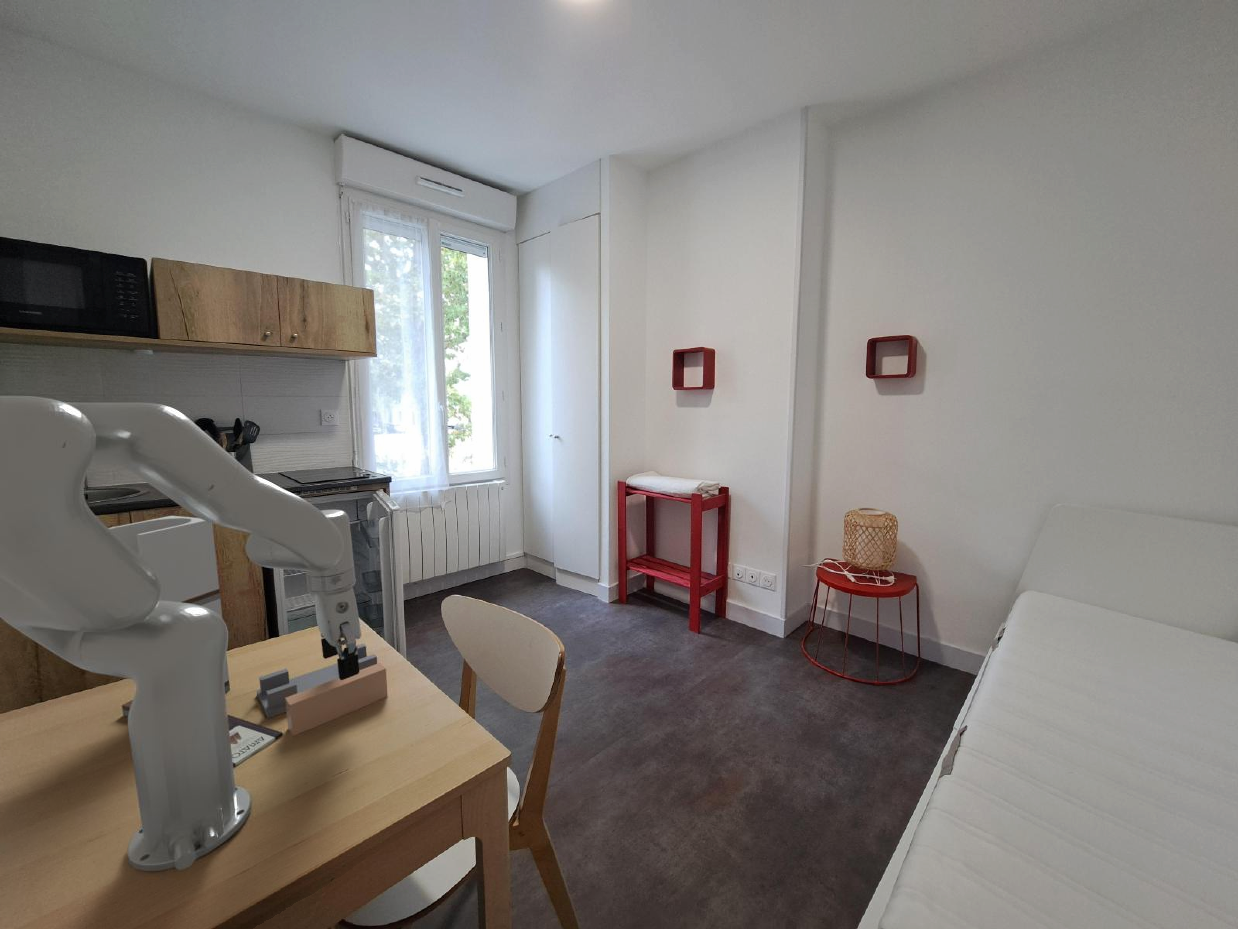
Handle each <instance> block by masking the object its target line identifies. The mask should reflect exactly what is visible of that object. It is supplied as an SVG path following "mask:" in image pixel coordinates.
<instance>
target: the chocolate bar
mask: <svg viewBox="0 0 1238 929" xmlns="http://www.w3.org/2000/svg"><path fill="white" fill-rule="evenodd" d="M227 715H228V724H229V733H230V742H231V752H232V761H233V768H235V767H236V766H238V765H240V764H241V763H243V762H244V761H246V760H247V759H249V758H250V757H252V756H254V755H255V754H256V753H258V752H260V751H261V750H263V749H265V748H266V747H267V746H269V745H270V744H272V743H273V742H275V741H276V740H277V739H279V738H281V737H282V736H284V734H283V732H282V731H279V730H275V729H273V728H269V727H266V726H264V725H261V724H258V723H255V722H251V721H248V720H245V719H243V718H239V717H236V716H233V715H230V714H227Z"/></svg>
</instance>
